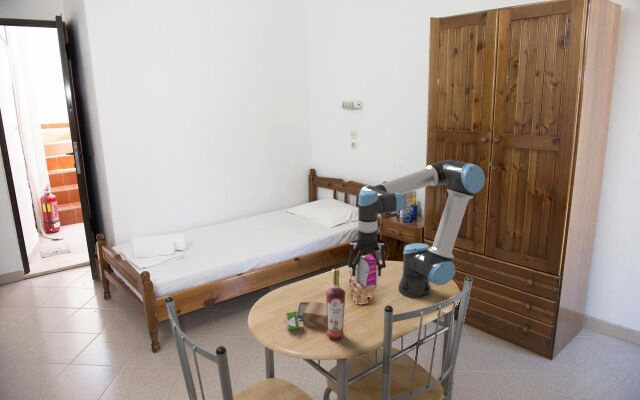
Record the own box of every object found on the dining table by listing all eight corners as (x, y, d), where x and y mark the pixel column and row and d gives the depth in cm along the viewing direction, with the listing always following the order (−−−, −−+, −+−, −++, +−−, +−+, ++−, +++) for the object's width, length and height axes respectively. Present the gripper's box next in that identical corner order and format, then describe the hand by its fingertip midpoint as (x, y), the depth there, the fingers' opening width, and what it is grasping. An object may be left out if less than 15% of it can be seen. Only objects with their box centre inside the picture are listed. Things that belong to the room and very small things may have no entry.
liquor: (326, 341, 178) (326, 274, 171) (326, 331, 185) (325, 266, 178) (345, 341, 178) (346, 274, 171) (344, 331, 185) (344, 266, 178)
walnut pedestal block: (332, 317, 196) (332, 304, 195) (326, 329, 187) (326, 315, 186) (310, 313, 199) (310, 301, 198) (303, 325, 190) (302, 312, 188)
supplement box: (364, 287, 185) (364, 261, 182) (356, 282, 190) (356, 256, 187) (376, 284, 187) (377, 258, 184) (368, 279, 192) (368, 253, 190)
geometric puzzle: (280, 318, 191) (283, 309, 185) (296, 315, 193) (300, 306, 187) (285, 334, 187) (288, 326, 181) (301, 331, 189) (304, 322, 183)
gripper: (392, 227, 186) (390, 279, 192) (341, 226, 187) (341, 278, 193) (394, 233, 179) (392, 287, 184) (341, 232, 180) (341, 286, 185)
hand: (366, 282), depth 189 cm, fingers closed on supplement box, 8 cm apart
